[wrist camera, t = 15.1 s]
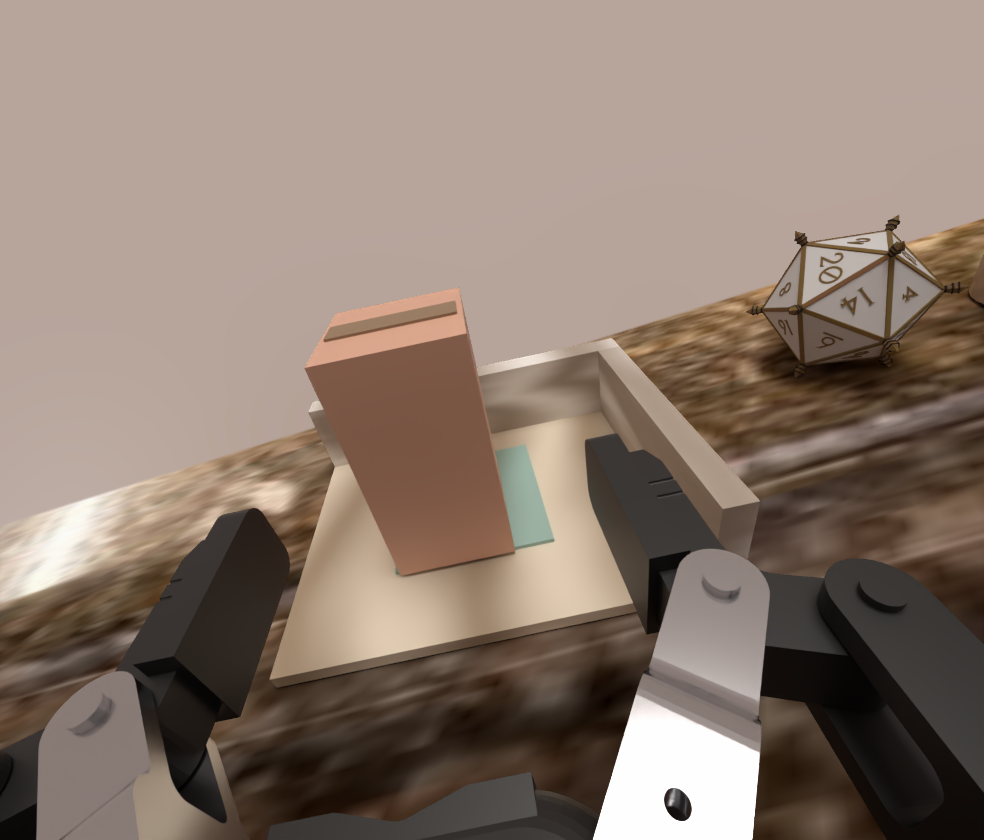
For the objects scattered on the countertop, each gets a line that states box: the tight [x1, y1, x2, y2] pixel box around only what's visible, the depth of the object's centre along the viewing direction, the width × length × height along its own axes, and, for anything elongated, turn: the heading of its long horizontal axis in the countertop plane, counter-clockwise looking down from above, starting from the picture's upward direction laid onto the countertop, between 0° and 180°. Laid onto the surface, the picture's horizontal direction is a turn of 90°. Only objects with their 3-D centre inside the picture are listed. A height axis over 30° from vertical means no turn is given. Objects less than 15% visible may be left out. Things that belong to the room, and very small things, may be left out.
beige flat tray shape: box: [270, 338, 760, 688], centre depth 21 cm, size 18×14×5 cm
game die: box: [746, 215, 970, 378], centre depth 25 cm, size 9×8×10 cm
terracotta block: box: [305, 288, 515, 575], centre depth 18 cm, size 5×5×10 cm
